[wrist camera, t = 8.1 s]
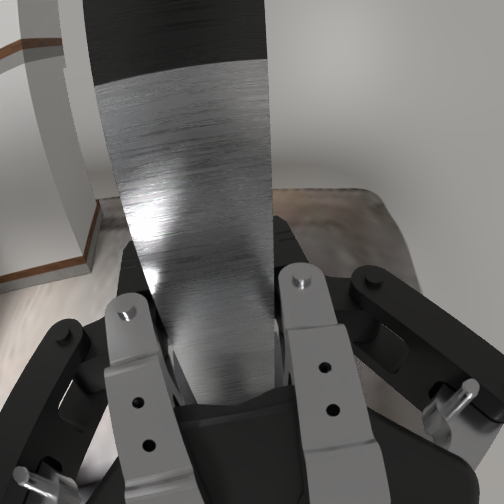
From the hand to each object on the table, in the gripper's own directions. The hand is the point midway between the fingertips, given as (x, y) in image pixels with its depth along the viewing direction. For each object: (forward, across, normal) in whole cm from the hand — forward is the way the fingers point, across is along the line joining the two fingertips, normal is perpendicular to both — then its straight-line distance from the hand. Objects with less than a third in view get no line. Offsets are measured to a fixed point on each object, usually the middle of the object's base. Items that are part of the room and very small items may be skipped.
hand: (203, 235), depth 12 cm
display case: (+18, +17, +11) cm, 27 cm away
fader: (-3, 0, +7) cm, 8 cm away
